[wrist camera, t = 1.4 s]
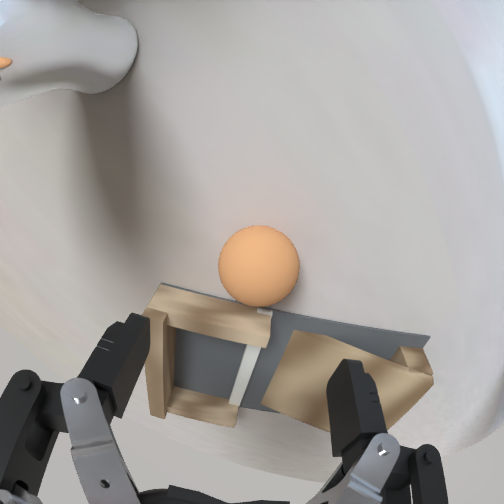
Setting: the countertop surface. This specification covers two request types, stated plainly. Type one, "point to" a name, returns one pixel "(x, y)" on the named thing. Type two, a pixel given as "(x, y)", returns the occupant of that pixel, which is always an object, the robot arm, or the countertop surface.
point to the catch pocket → (204, 322)
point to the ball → (258, 266)
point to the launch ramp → (323, 366)
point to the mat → (266, 354)
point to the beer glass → (61, 48)
